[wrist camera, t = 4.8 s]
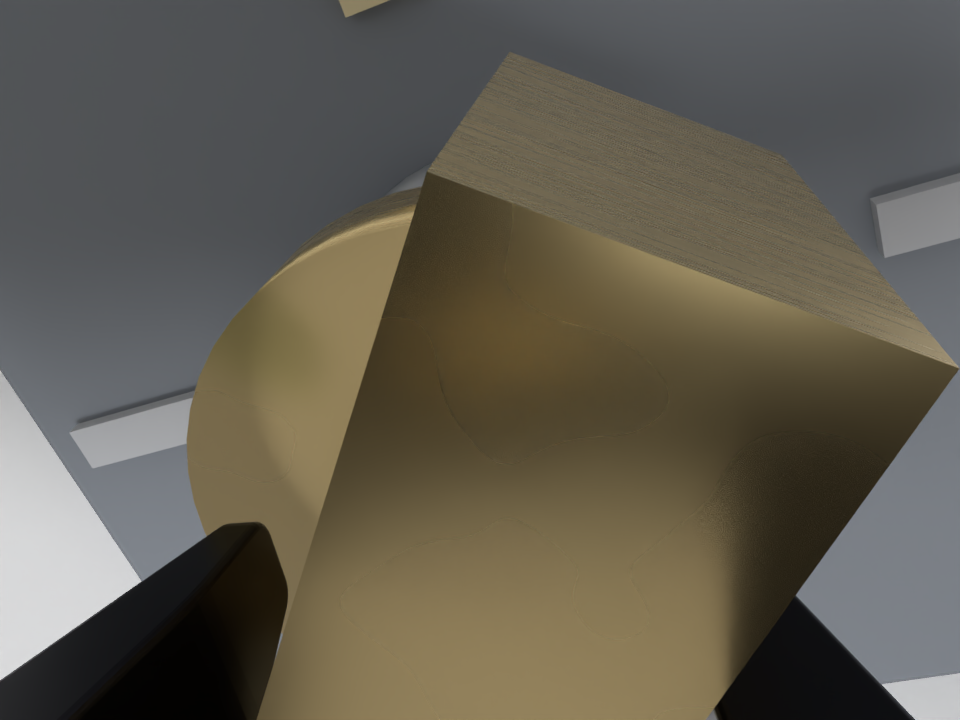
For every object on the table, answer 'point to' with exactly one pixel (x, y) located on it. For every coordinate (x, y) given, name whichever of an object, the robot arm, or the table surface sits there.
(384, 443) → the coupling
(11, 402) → the table surface
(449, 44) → the post base
